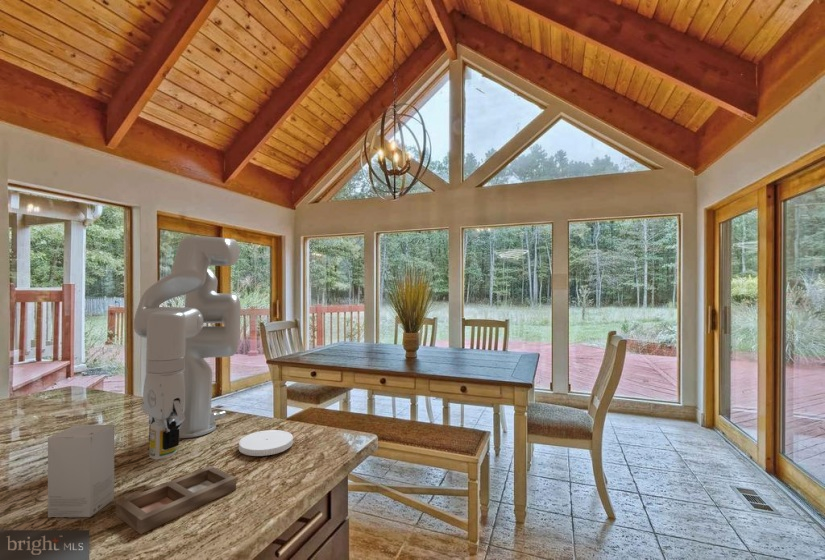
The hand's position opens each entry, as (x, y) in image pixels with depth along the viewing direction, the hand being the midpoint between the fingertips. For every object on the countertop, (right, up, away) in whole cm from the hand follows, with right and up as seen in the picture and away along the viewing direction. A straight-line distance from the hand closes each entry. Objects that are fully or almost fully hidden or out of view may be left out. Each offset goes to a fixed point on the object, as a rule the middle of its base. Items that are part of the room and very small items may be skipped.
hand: (163, 443), depth 88 cm
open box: (+9, -8, -9) cm, 15 cm away
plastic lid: (+17, -9, +18) cm, 26 cm away
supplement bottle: (0, -3, 0) cm, 3 cm away
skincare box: (-8, -8, -13) cm, 17 cm away
